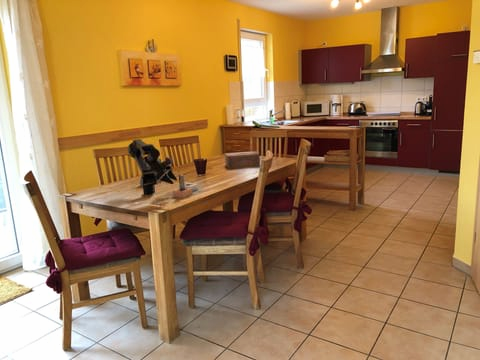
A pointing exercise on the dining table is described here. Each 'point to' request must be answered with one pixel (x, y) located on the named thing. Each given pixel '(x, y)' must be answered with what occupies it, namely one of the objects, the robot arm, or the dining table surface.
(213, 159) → the dining table surface
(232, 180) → the dining table surface
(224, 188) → the dining table surface
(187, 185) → the socket block
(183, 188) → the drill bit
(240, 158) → the tissue box cover
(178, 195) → the rack block
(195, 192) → the tool board
